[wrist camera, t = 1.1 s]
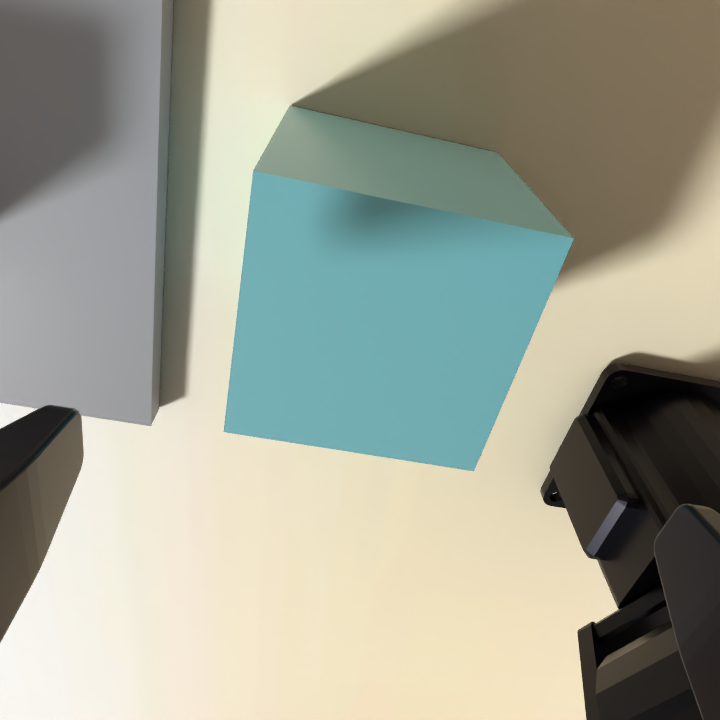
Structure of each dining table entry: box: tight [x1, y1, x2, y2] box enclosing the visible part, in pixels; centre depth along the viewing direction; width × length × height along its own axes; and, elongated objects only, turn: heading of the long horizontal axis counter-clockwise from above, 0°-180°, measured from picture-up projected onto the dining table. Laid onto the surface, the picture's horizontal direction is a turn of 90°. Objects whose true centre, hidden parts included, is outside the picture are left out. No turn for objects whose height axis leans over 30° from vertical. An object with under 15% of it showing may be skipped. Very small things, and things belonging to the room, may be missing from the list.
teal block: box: [224, 106, 574, 471], centre depth 14 cm, size 6×6×7 cm
